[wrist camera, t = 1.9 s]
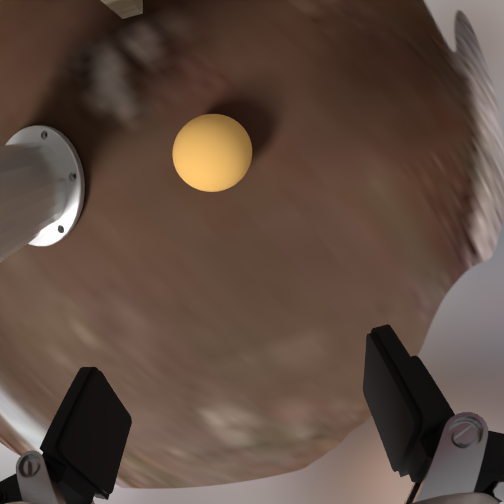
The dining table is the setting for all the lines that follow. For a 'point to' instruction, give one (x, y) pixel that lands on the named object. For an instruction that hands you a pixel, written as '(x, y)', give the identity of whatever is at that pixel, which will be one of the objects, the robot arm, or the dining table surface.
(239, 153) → the ball
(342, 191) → the dining table surface
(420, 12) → the dining table surface
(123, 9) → the bridge
